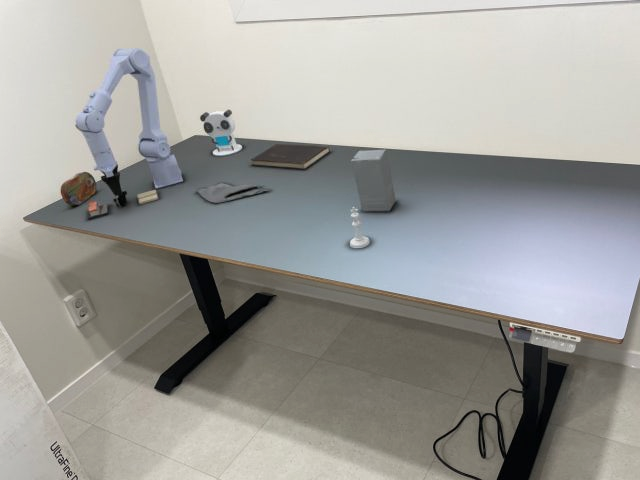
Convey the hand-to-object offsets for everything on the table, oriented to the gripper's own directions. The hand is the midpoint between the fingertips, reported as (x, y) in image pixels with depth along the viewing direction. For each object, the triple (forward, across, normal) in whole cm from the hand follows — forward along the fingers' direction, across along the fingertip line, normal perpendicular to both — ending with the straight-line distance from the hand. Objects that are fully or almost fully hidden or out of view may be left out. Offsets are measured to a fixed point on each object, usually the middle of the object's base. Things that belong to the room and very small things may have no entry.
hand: (117, 191), depth 183 cm
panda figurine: (+5, -28, +41) cm, 50 cm away
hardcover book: (+6, +2, +58) cm, 58 cm away
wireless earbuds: (+5, -1, 0) cm, 5 cm away
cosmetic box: (+5, +60, +65) cm, 88 cm away
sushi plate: (+5, 0, -8) cm, 10 cm away
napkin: (+5, 0, +8) cm, 10 cm away
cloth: (+5, +17, +31) cm, 36 cm away
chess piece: (+5, +75, +52) cm, 92 cm away
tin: (+5, -18, -12) cm, 22 cm away
